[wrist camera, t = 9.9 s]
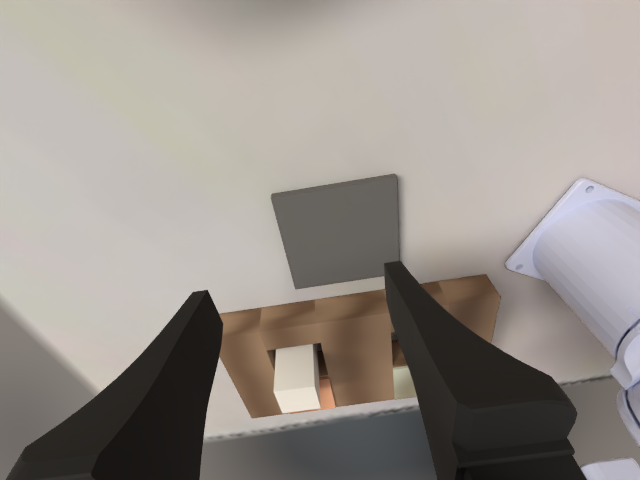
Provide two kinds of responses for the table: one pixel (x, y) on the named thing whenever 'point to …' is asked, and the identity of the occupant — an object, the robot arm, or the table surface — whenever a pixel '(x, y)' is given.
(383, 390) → the socket block
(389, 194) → the grey square plate
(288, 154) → the table surface
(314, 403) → the plug
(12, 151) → the table surface
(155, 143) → the table surface
